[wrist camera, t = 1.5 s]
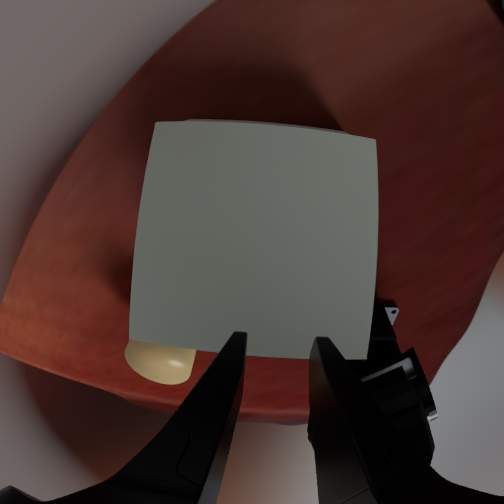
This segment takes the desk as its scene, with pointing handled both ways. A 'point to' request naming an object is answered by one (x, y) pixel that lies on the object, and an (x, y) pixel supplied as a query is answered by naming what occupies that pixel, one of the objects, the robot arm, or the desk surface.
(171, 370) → the beige rounded cylinder
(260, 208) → the box lid
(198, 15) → the desk surface
